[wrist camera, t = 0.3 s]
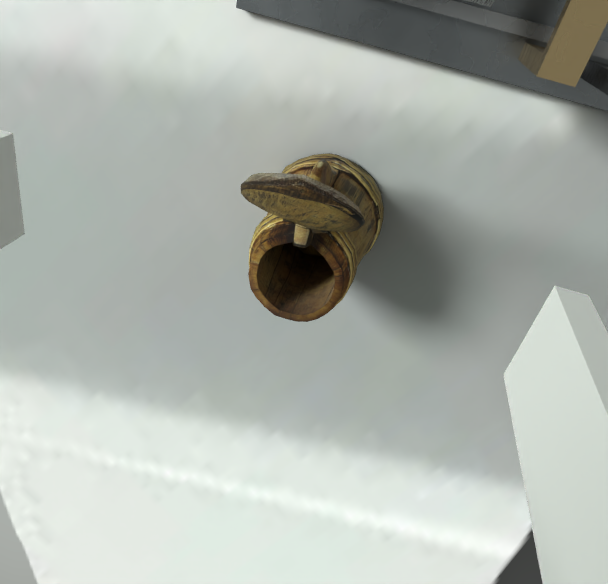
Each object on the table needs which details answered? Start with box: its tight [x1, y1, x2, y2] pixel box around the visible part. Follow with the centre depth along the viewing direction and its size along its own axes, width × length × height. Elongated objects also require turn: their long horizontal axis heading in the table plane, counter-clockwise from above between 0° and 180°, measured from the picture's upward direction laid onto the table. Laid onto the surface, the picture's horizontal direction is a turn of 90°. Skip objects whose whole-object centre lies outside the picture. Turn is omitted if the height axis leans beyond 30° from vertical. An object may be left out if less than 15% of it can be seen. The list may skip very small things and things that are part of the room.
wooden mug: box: [241, 154, 384, 322], centre depth 31 cm, size 9×14×18 cm, turn 168°
